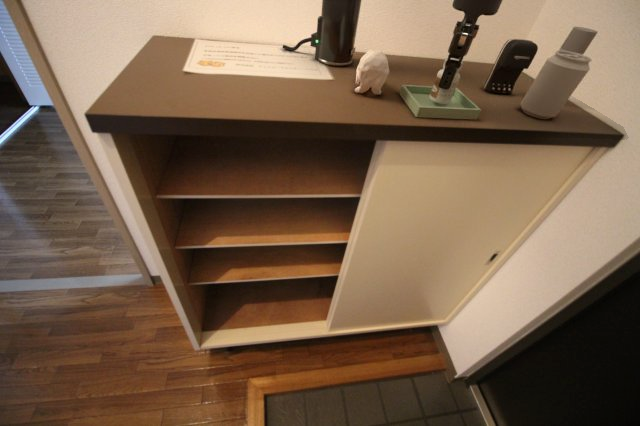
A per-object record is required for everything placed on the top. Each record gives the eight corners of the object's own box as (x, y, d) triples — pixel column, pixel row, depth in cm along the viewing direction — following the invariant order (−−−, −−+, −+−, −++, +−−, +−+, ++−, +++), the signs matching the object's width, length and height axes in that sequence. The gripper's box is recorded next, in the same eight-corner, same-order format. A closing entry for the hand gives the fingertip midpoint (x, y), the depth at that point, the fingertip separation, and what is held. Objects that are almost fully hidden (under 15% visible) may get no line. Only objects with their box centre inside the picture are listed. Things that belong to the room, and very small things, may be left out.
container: (553, 105, 68) (603, 33, 58) (533, 101, 69) (579, 30, 58) (546, 97, 72) (591, 28, 61) (527, 94, 72) (569, 25, 61)
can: (515, 102, 67) (549, 46, 59) (549, 110, 66) (589, 53, 57) (520, 115, 62) (558, 55, 53) (558, 123, 60) (602, 63, 52)
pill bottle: (427, 94, 62) (441, 55, 56) (447, 97, 62) (463, 58, 56) (429, 102, 59) (444, 62, 53) (451, 105, 58) (468, 65, 53)
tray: (416, 117, 56) (419, 107, 55) (399, 94, 64) (401, 84, 63) (476, 119, 58) (481, 109, 57) (452, 96, 66) (456, 87, 64)
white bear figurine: (362, 51, 54) (355, 41, 64) (355, 97, 60) (349, 81, 69) (395, 54, 55) (383, 44, 64) (384, 99, 60) (374, 83, 70)
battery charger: (488, 94, 69) (514, 41, 61) (481, 88, 72) (506, 36, 64) (514, 96, 70) (544, 44, 62) (506, 90, 73) (534, 39, 65)
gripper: (465, -29, 52) (431, 70, 64) (460, -26, 42) (420, 91, 54) (509, -23, 50) (465, 78, 62) (514, -18, 40) (461, 101, 52)
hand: (444, 83), depth 58 cm, fingers closed on pill bottle, 4 cm apart
